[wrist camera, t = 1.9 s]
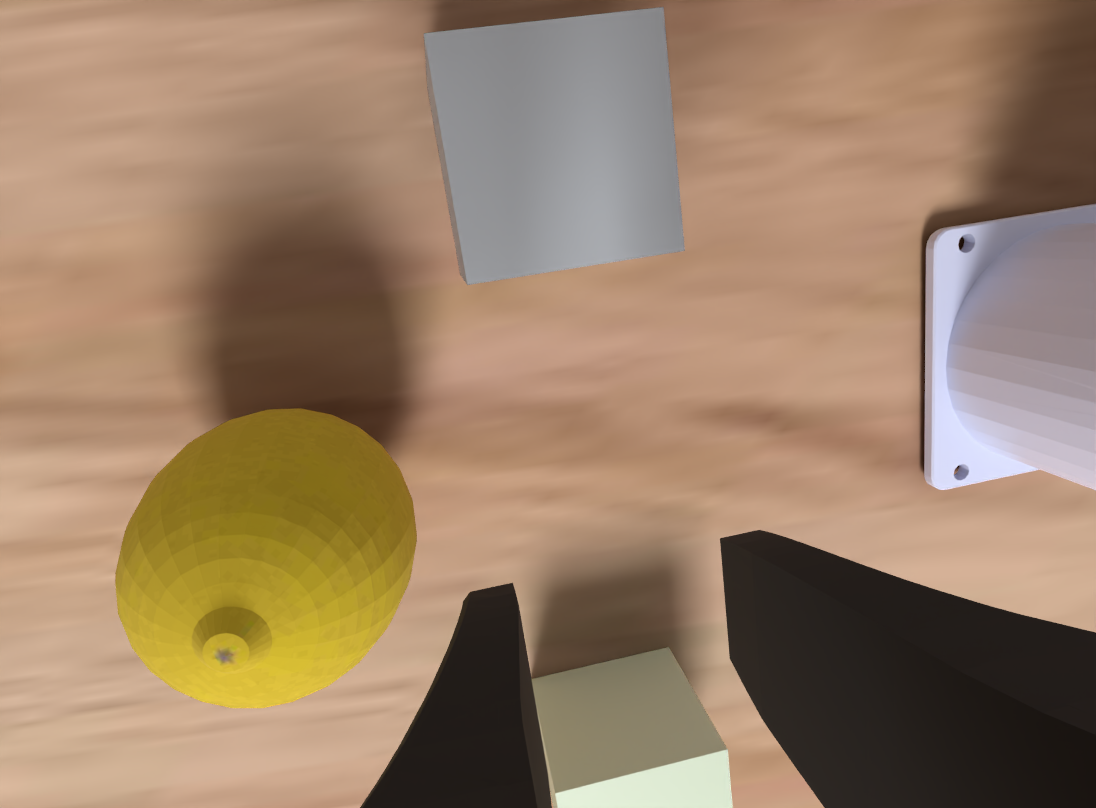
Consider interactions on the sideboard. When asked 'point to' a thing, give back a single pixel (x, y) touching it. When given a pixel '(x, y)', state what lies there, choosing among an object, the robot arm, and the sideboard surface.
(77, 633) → the sideboard surface
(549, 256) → the slate block
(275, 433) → the lemon
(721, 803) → the sage block
